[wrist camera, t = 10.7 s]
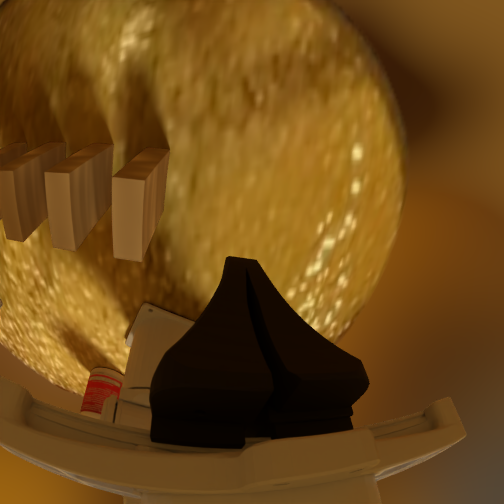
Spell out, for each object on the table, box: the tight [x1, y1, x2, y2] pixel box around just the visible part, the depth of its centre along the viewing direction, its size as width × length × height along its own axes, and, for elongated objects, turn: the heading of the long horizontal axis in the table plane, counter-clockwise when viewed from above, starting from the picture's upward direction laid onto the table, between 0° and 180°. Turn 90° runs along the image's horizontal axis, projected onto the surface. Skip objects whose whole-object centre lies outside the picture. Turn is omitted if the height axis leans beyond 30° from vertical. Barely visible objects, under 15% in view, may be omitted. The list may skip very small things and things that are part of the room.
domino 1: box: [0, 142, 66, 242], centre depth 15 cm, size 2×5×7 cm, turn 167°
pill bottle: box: [80, 368, 124, 420], centre depth 30 cm, size 6×6×11 cm
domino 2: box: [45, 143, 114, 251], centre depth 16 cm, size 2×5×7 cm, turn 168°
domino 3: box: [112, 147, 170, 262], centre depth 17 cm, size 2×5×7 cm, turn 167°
